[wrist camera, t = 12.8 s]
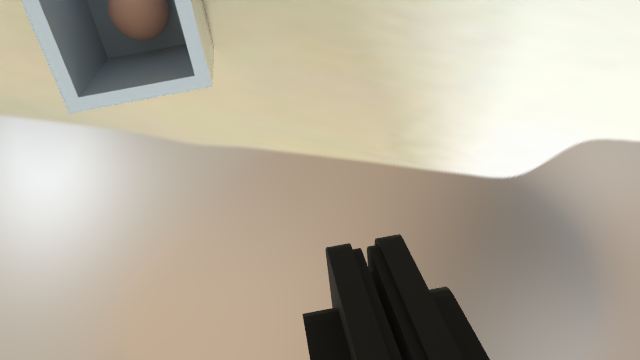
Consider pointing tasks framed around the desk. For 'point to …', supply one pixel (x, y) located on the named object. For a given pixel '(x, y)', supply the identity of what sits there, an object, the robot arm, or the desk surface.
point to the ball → (139, 17)
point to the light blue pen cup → (120, 53)
